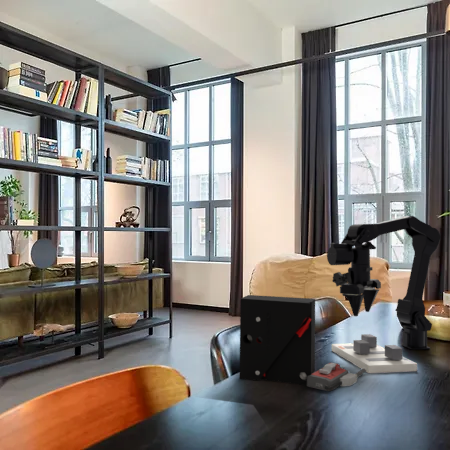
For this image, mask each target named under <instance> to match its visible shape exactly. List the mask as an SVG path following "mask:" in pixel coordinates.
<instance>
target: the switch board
mask: <svg viewBox="0 0 450 450" xmlns="http://www.w3.org/2000/svg"><path fill="white" fill-rule="evenodd" d="M353 346H354V342H352V343H350V342H349V343H332V344H331V351H332V352H333V353H335V354H337V355H338V356H340V357H341V358H343V359H345V360H347V361H348V362H350V363H351V364H353V365H354V366H356V367H358V368H360V370H362V369H365V370H366V371H365V372H366V373H368V374H380V373H381V374H384V373H385V374H386V373H403V372H407V373H408V372H417V371H418V363H417V362H414V361H413V360H410V359H408V358H406V357H404V356H402V359H401V360H392V359H390V358H388V357H386V356H385V347H382V346H380V345H379V344H377V347H370V354H359V353H357V352H355V351H354V350H353Z"/></svg>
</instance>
